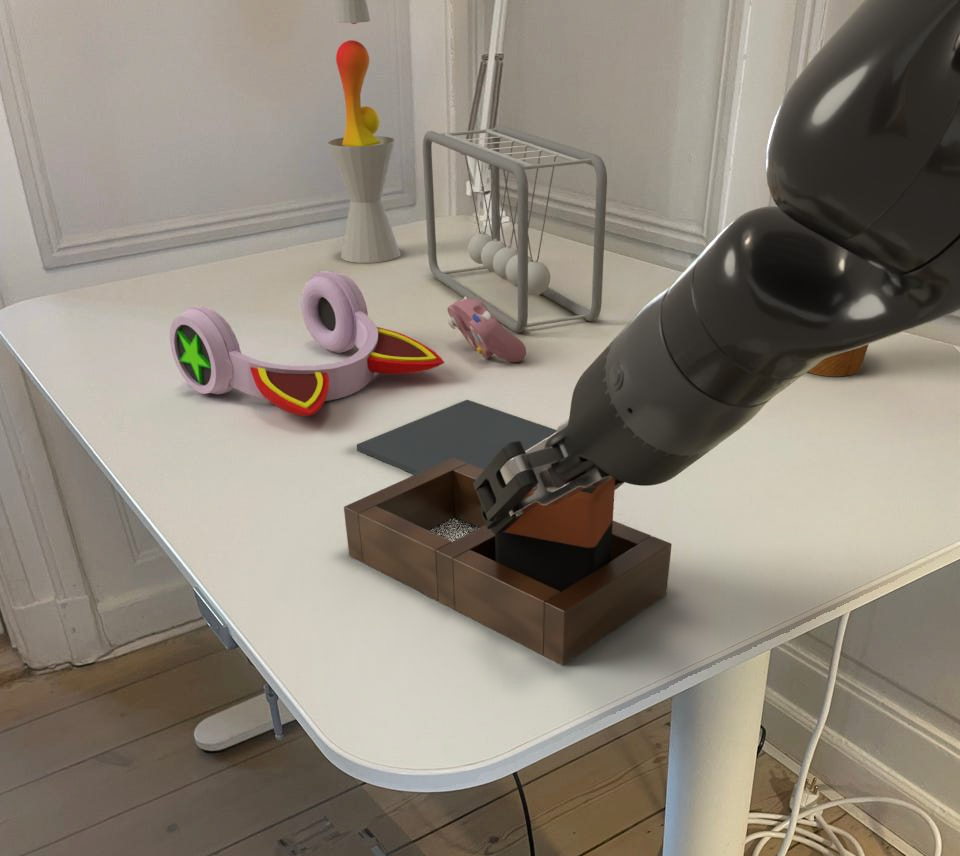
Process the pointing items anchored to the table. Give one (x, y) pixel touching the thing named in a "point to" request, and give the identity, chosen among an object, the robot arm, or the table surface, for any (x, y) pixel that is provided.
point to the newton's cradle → (496, 253)
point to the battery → (561, 537)
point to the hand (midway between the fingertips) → (541, 503)
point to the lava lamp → (361, 152)
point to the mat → (453, 437)
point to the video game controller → (484, 331)
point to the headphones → (298, 389)
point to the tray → (499, 565)
